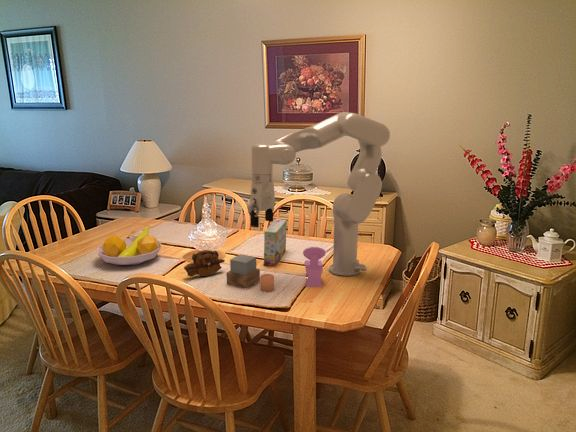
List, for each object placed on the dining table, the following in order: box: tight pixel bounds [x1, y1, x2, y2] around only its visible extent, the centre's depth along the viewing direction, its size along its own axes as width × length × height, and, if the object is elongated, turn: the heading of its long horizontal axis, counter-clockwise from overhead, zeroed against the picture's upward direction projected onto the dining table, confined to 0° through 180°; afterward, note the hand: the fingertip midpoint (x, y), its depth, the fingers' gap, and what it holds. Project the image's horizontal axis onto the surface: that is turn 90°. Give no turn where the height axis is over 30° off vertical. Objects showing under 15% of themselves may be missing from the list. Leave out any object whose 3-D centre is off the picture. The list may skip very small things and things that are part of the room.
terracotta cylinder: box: [259, 273, 275, 293], centre depth 174 cm, size 5×5×5 cm
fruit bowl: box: [96, 225, 162, 266], centre depth 204 cm, size 28×27×11 cm
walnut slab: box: [225, 268, 261, 290], centre depth 180 cm, size 9×9×5 cm
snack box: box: [263, 218, 288, 267], centre depth 206 cm, size 21×6×15 cm, turn 168°
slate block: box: [229, 253, 257, 276], centre depth 179 cm, size 7×7×5 cm
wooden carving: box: [183, 249, 225, 278], centre depth 186 cm, size 16×5×10 cm, turn 126°
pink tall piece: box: [302, 246, 326, 288], centre depth 180 cm, size 8×9×15 cm
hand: (262, 223), depth 177 cm, fingers open, 9 cm apart
